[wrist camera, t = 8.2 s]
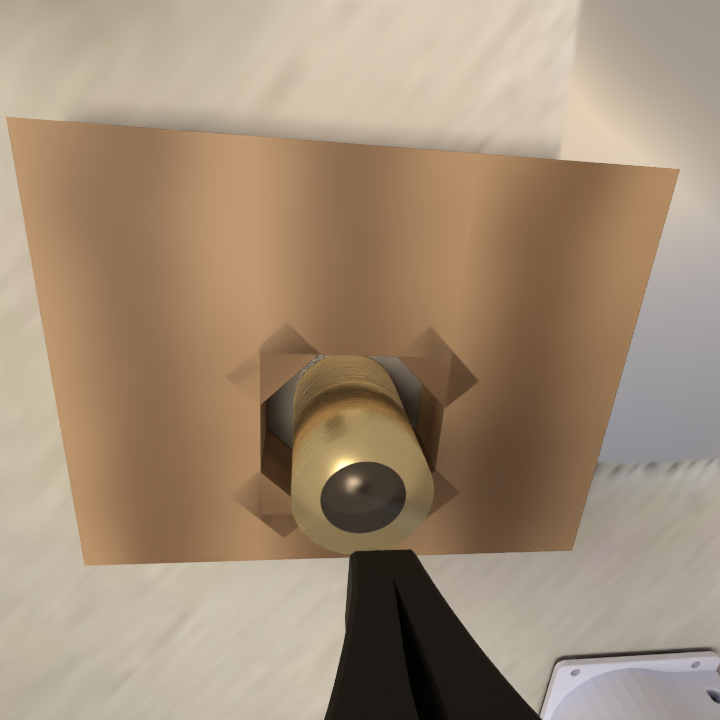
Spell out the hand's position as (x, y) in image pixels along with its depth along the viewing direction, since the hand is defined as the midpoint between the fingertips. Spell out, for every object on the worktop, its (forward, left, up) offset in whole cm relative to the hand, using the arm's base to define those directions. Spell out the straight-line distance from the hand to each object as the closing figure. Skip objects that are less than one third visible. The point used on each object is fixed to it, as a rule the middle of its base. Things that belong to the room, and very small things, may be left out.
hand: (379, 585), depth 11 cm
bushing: (0, 0, -9) cm, 9 cm away
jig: (0, -2, -9) cm, 9 cm away
